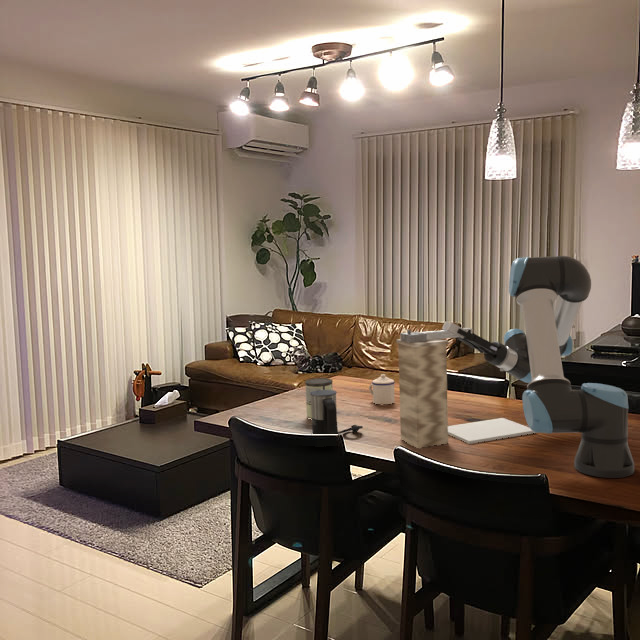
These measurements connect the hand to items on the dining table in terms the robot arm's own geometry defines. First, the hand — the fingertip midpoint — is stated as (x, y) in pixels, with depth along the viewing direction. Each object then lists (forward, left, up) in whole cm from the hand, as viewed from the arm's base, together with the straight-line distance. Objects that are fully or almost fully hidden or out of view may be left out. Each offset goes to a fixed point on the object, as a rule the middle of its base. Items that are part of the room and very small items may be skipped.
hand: (446, 325), depth 215 cm
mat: (+8, -12, -37) cm, 40 cm away
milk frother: (+1, +37, -37) cm, 53 cm away
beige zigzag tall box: (-5, +8, -37) cm, 38 cm away
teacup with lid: (+48, +28, -37) cm, 67 cm away
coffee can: (+23, +48, -37) cm, 65 cm away
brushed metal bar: (-2, +3, -4) cm, 5 cm away
